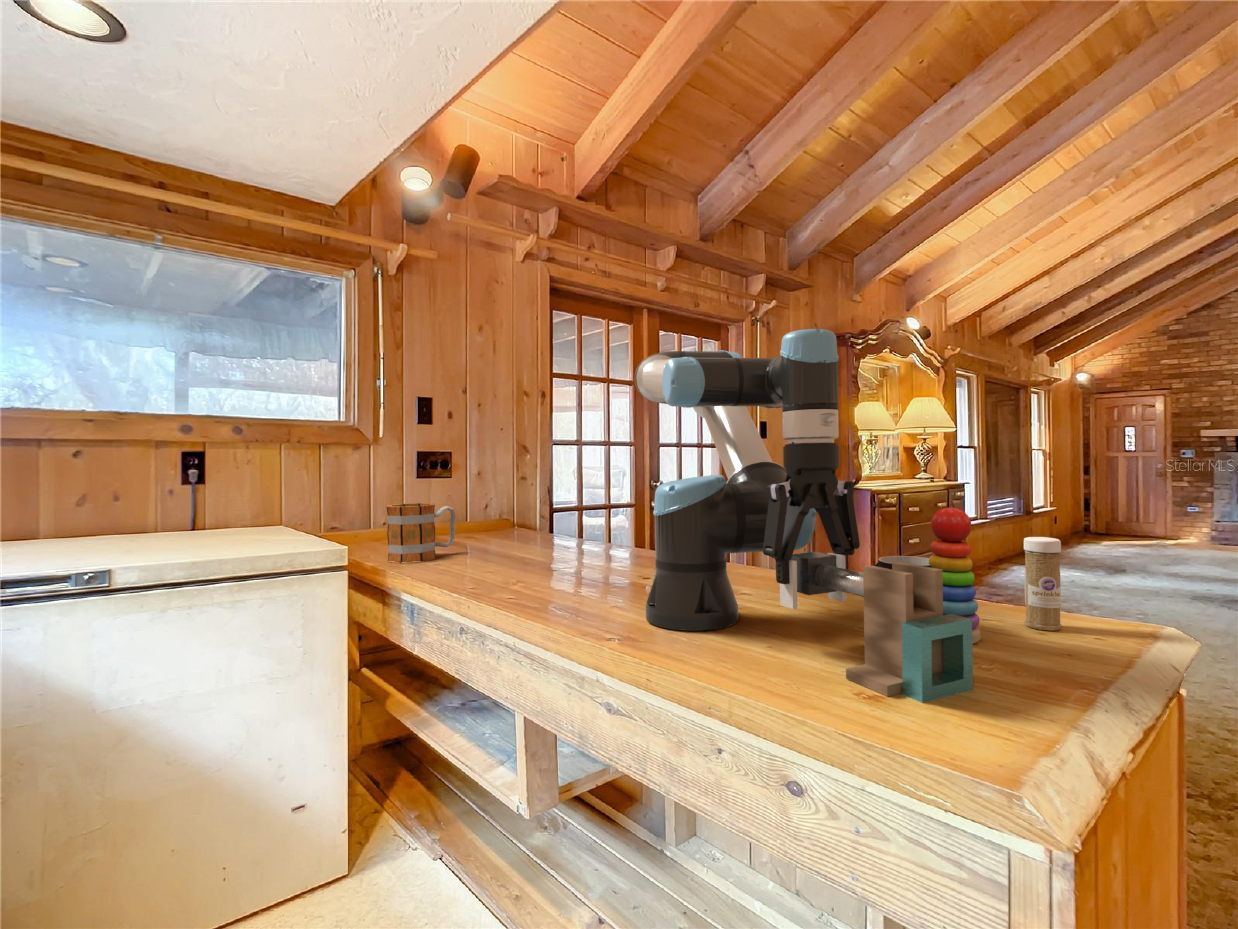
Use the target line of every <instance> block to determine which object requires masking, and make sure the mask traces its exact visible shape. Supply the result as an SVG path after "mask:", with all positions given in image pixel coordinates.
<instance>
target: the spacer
mask: <svg viewBox="0 0 1238 929" xmlns="http://www.w3.org/2000/svg"><path fill="white" fill-rule="evenodd" d="M941 638H943V672H940V673H936V674H932V647H931V640H936V639H941ZM973 659H974V658H973V644H972V619H970V618H966V617H962V616H959V615H955V614H948V615H942V616H936V617H931V618H925V619H920V620H914V621H909V622H903V623H902V676H903V693H902V695H903V696H905V697H907V698H909V699H912V700H914V701H917V702H920V703H922V704H924V703H928V702H932V701H935V700H939V699H943V698H947V697H948V698H949V697H950V696H954V695H955V696H956V695H957V694H958V695H959V694H963V693H966V692H970V691H973V690H974V682H973V681H974V671H973V669H974V668H973V667H974V666H973V664H974V663H973Z"/></svg>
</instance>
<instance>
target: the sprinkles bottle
mask: <svg viewBox="0 0 1238 929" xmlns="http://www.w3.org/2000/svg"><path fill="white" fill-rule="evenodd" d="M1023 550H1024V554H1025V555H1024V558H1025V559H1024V560H1025V564H1024V565H1025V566H1024V568H1025V569H1024V604H1025V621H1024V624H1025V626H1027V627H1028V628H1031V629H1034V630H1035V629H1036V630H1040V631H1051V632H1052V631H1059V630H1062V624H1061V606H1062V603H1061V600H1062V599H1061V597H1062V594H1061V569H1060V567H1061V566H1060V564H1061V563H1060V559H1061V558H1060V555H1061V552H1062V541H1061V540H1060V539H1059V538H1054V537H1047V536H1028V537H1024V538H1023Z"/></svg>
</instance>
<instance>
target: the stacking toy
mask: <svg viewBox="0 0 1238 929" xmlns="http://www.w3.org/2000/svg"><path fill="white" fill-rule="evenodd" d="M931 518H932V519H931V522H930V526H931V528H930V529H931V530H932V533H933V534H934V536H935V537H936V538H938V539H936V540H933V541H932V542H931V544H930V551H931V552H932V553H933V554H932V555H931V556H929V564H930V566H931V567H932V568H936V569H942V572H943V615H948V614H955V615H959V616H962V617H966V618H970V619H972V645H973V644H976V643H978V642H979V641H980V640H981V638H982V631H981V630H980V628H979V627H978V626H979V624H980V618H979V615H978V614H977V613H976V612H977V611H978V610H979V603H978V602H977V600H975V599H974V598H975V596H976V595H977V590H976V588H975V587H974V586H973V584H974V582H975V578H976V577H975V574H974V572H973V571H971V570H972V569H973V561H972V559H970V558H969V557H968V556H969V555H970V554H971V553H972V548H971V545H970V544H969V543H968V542H966V541H964V540H965V539H967V538H968V537H969V536H970V533H971V531H972V521H971V518H970V516H969V515H968V514H967V513H966V512H965V511H964V510H961V509H960V508H956V507H945V508H941V509H939V510H938V511H936V512H935V513H934V514H933V516H932V517H931Z"/></svg>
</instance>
